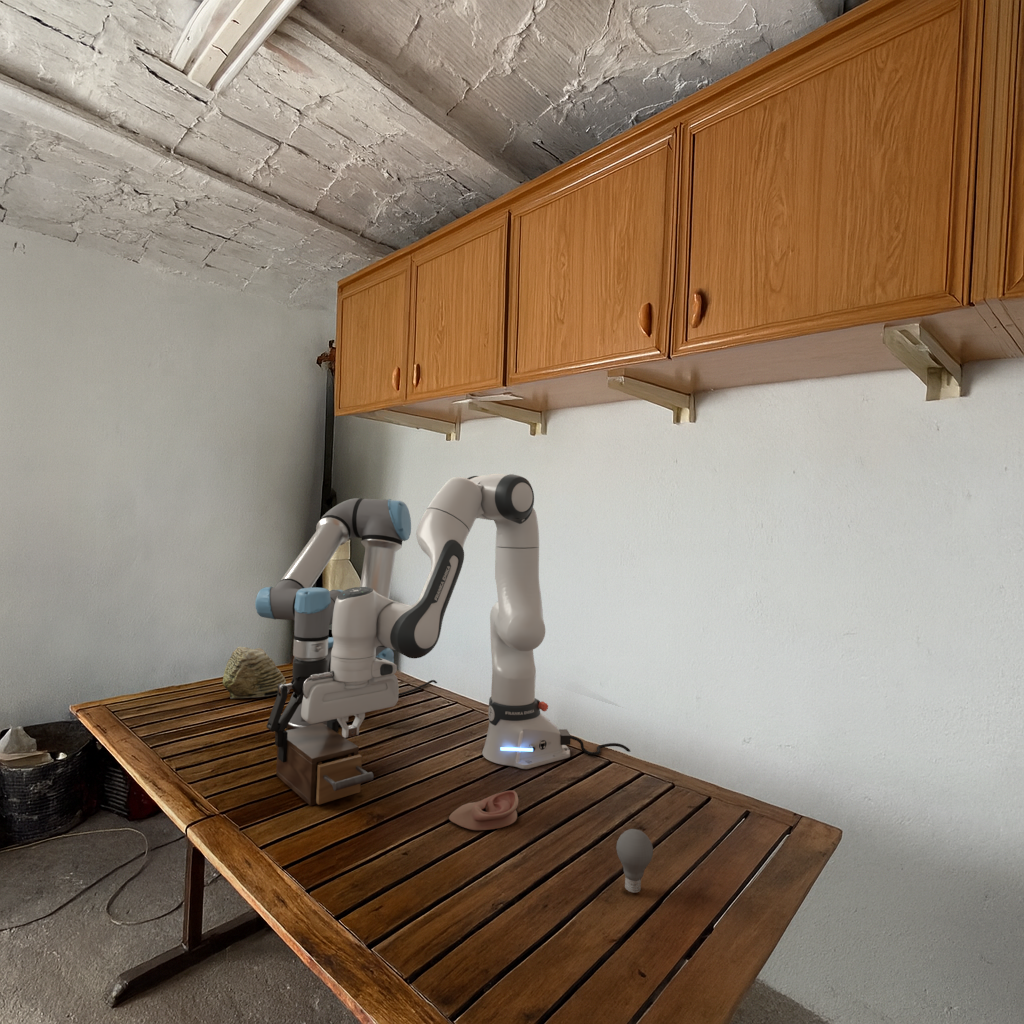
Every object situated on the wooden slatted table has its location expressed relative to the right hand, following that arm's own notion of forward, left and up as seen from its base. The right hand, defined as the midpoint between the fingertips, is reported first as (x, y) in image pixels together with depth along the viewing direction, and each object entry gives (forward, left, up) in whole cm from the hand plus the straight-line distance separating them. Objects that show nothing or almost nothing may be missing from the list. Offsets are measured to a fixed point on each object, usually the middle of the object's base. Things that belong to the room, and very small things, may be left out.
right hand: (350, 735), depth 129 cm
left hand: (+6, -19, -10) cm, 22 cm away
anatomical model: (-25, +13, -15) cm, 32 cm away
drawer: (+2, -8, -14) cm, 16 cm away
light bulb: (-39, +44, -15) cm, 61 cm away
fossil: (+13, -83, -15) cm, 85 cm away
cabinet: (+4, -14, -15) cm, 21 cm away
